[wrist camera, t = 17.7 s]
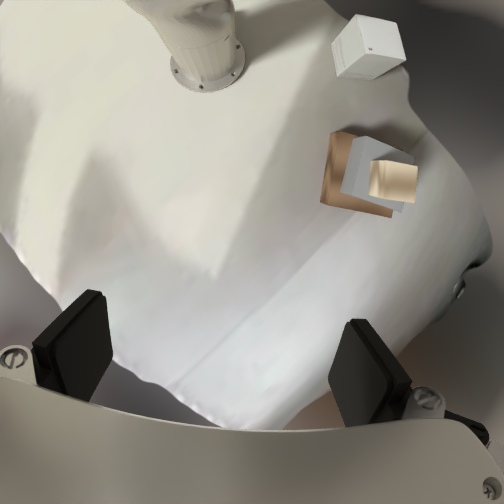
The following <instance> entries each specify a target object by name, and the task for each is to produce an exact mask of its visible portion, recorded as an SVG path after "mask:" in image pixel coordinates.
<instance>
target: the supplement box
mask: <svg viewBox="0 0 504 504" xmlns="http://www.w3.org/2000/svg"><path fill="white" fill-rule="evenodd" d="M331 47H332V52H333V58H334V63H335V69H336V75H337V77H343V78H355V79H365V80H373V79H375V78H376V77H378V76H380V75H381V74H383V73H385V72H386V71H388V70H390V69H392V68H393V67H395V66H397V65H399V64H400V63H402V62H404V61H406V57H405V53H404V49H403V45H402V41H401V37H400V34H399V30H398V27H397V24H396V23H395V22H391V21H386V20H382V19H378V18H373V17H368V16H363V15H358V14H355V16H354V17H353V18H352V19H351V20H350V22H349V23H348V24H347V25H346V27H345V28H344V29H343V30H342V31H341V33H340V34H339V35H338V36H337V38H336V39H335V40H334V41H333V43H332V44H331Z"/></svg>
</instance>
